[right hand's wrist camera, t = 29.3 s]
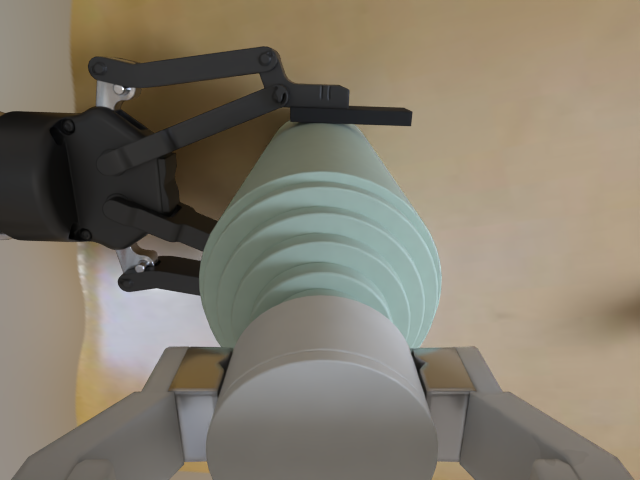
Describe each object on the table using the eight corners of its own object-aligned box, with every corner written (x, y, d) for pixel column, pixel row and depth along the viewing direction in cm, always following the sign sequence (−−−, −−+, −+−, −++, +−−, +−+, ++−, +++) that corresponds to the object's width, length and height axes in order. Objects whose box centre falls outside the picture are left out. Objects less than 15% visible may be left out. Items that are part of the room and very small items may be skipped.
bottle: (377, 210, 33) (513, 537, 10) (275, 223, 34) (180, 570, 10) (367, 103, 31) (522, 216, 7) (256, 119, 31) (70, 274, 8)
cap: (439, 317, 10) (473, 389, 8) (383, 460, 11) (397, 554, 9) (248, 274, 9) (226, 336, 7) (215, 428, 11) (189, 518, 9)
